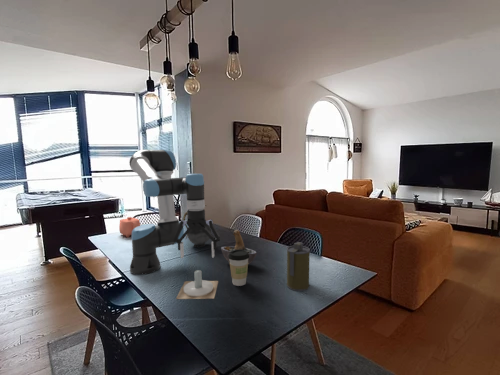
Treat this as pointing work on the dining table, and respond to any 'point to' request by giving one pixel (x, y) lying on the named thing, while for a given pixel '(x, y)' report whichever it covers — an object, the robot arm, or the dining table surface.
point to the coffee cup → (238, 266)
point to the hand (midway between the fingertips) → (197, 256)
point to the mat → (208, 296)
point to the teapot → (128, 226)
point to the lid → (198, 286)
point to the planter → (238, 245)
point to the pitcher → (198, 235)
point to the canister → (298, 267)
